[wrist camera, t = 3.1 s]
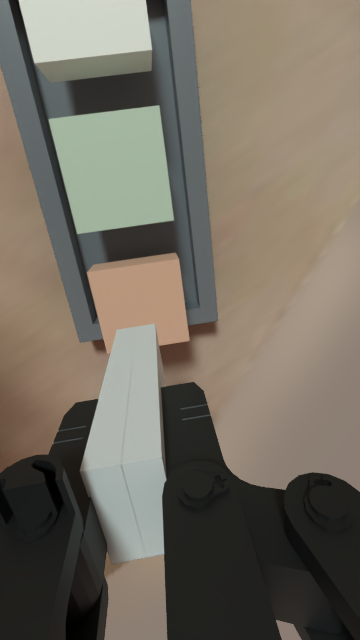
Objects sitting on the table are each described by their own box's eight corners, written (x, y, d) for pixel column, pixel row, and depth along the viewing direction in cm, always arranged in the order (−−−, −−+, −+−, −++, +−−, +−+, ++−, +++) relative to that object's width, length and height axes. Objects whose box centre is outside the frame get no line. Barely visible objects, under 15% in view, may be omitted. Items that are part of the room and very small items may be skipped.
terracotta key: (97, 260, 19) (86, 272, 16) (173, 249, 20) (178, 258, 16) (113, 329, 21) (107, 354, 18) (182, 318, 21) (189, 340, 18)
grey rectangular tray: (-6, -11, 16) (-32, -47, 14) (179, -30, 16) (184, -68, 14) (86, 328, 23) (79, 342, 21) (211, 309, 24) (218, 320, 22)
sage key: (68, 136, 17) (48, 119, 13) (156, 125, 17) (159, 105, 13) (90, 228, 19) (77, 234, 15) (169, 217, 19) (174, 220, 15)
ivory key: (29, -35, 14) (-10, -112, 11) (134, -45, 14) (129, -123, 11) (58, 93, 16) (34, 63, 12) (151, 82, 16) (151, 49, 13)
